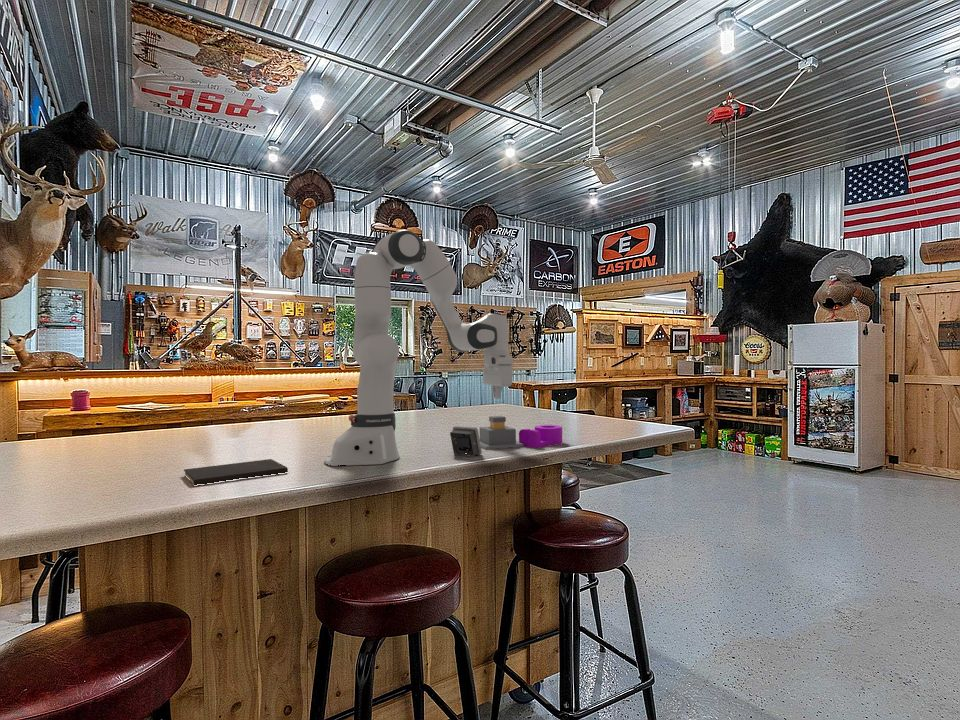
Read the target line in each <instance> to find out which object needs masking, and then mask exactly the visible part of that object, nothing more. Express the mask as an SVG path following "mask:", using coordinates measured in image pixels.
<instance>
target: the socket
mask: <svg viewBox="0 0 960 720" xmlns="http://www.w3.org/2000/svg"><path fill="white" fill-rule="evenodd" d="M479 439H480V444H481V447H482V448H481V449H484V450H496V449H495V448H499V449H508V448H509V447H513V448H522V447H523V448H524V447H525V446H524V444H523V443H520V442H519V441H518V440H517V429H516V428H514V427H511V426H507V425H505V429H490V426H482V427H481V426H479Z"/></svg>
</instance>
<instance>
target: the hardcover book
mask: <svg viewBox="0 0 960 720" xmlns="http://www.w3.org/2000/svg"><path fill="white" fill-rule="evenodd" d="M288 470H289V469H288V467H287V466H286V465H284V464H282V463H280V462H278V461H276V460H274V459H272V458H268V459H259V460H251V461H245V462H244V461H243V462H234V463H227V464H217V465H210V466H209V465H208V466H201V467H194V468H193V467H192V468H186V469H183V472H184V476H185V475H186V476H187V477H188V478H189V479H190V481H191V482H192V483H193V484H194V485H197V484H207V483H214V482H219V481H226V480H233V479H239V478H248V477H255V476H263V475H271V474H278V473H285V472H288V473H289V471H288ZM186 476H185V477H186ZM190 481H189V482H190ZM191 482H190V483H191ZM192 483H191V484H192ZM193 484H192V485H193ZM194 485H193V486H194Z"/></svg>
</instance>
